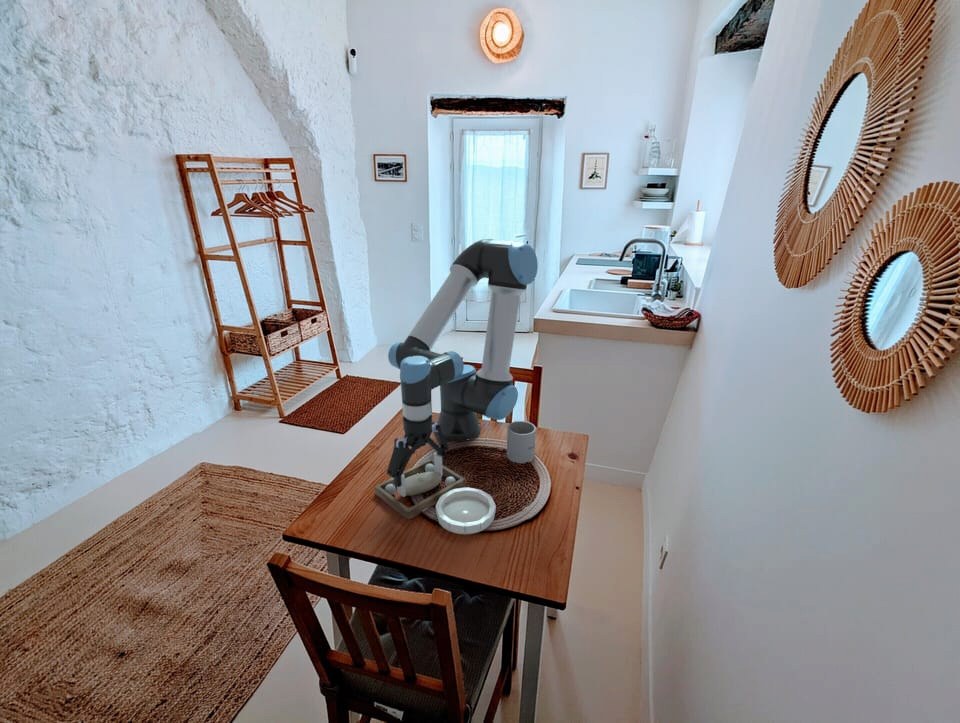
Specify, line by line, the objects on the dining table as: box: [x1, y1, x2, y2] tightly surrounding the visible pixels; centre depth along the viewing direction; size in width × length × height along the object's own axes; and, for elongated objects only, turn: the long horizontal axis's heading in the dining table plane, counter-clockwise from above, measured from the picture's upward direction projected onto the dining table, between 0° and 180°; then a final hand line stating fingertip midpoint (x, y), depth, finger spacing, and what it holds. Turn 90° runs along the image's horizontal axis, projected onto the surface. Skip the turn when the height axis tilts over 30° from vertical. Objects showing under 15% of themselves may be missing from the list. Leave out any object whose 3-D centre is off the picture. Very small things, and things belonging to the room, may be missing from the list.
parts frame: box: [374, 457, 466, 521], centre depth 131 cm, size 20×15×2 cm
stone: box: [405, 471, 442, 497], centre depth 130 cm, size 6×6×12 cm
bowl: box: [435, 486, 497, 535], centre depth 121 cm, size 15×15×3 cm
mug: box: [506, 420, 537, 464], centre depth 147 cm, size 12×9×10 cm
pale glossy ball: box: [424, 464, 434, 473], centre depth 138 cm, size 3×3×3 cm
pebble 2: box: [444, 476, 456, 487], centre depth 132 cm, size 3×3×3 cm
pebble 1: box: [385, 484, 397, 496], centre depth 129 cm, size 3×3×3 cm
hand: (420, 484), depth 130 cm, fingers closed on stone, 12 cm apart
